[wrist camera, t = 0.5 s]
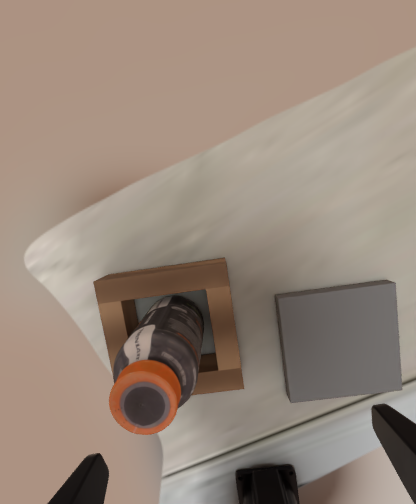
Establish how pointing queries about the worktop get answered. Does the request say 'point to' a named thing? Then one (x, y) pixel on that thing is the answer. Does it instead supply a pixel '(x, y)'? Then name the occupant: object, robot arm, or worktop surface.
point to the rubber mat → (340, 341)
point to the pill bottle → (157, 366)
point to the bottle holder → (170, 282)
